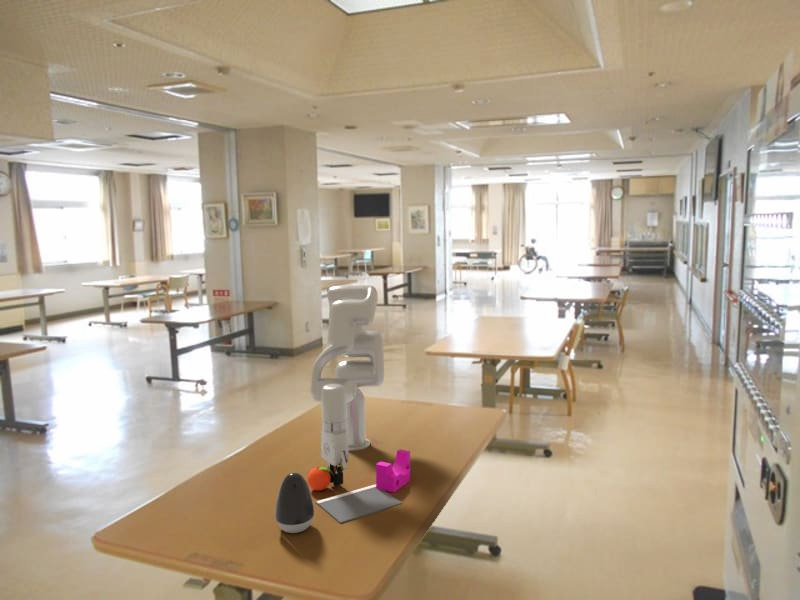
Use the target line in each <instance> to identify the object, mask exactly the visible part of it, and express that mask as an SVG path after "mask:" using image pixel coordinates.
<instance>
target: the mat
mask: <svg viewBox="0 0 800 600" xmlns="http://www.w3.org/2000/svg"><path fill="white" fill-rule="evenodd" d="M315 503H316V504H317V505H318V506H319V507H320V508H322V510H324V511H325V512H326V513H327V514H328V515H329V516H331V517H332V518H333V519H335V520H336V521H337V522H338V523H339V524H340V523H341V524H344V523H346V522H350V521H353V520H356V519H359V518H362V517H366V516H369V515H372V514H374V513H378V512H381V511H383V510H386V509H389V508H393V507H396V506H399V505H402V504H403V502H402V501H401V500H399V499H397V498H396V497H394V496H393V495H392V494H390V492H388V491H385V490H381V489H377V488H376V483H375V484H372V485H368V486H365V487H362V488H358V489H355V490H351V491H348V492H344V493H339V494H337V495H334V496H333V495H332V496H330V497H327V498H324V499H319V500H317V501H315Z"/></svg>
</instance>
